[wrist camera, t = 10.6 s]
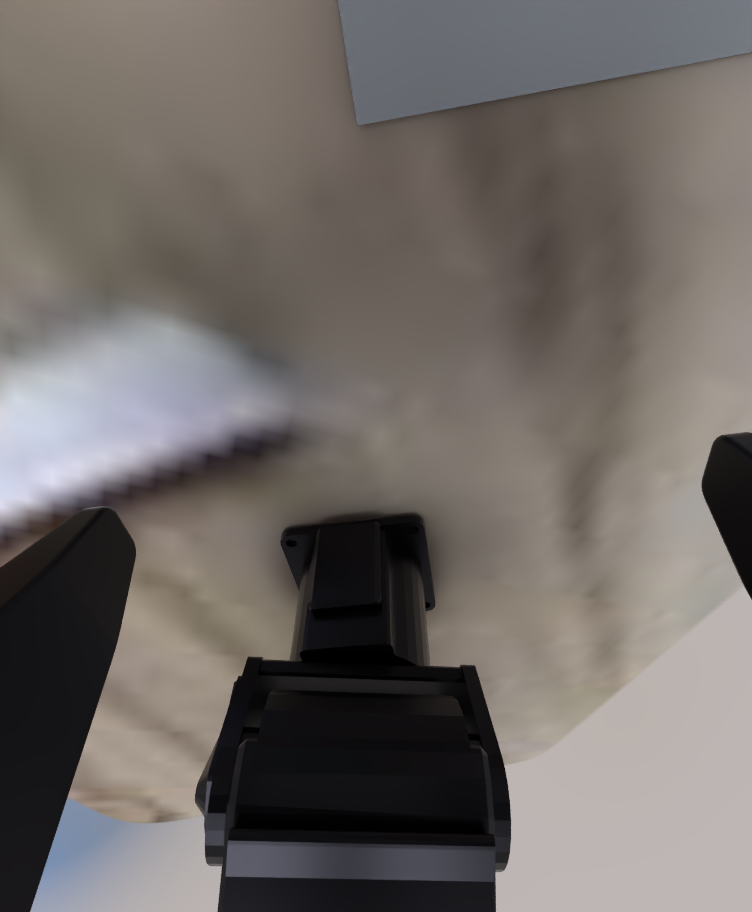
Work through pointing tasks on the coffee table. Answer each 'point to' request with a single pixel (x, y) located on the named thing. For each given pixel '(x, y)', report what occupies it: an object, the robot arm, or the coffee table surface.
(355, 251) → the coffee table surface
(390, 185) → the coffee table surface
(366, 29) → the slate mat
